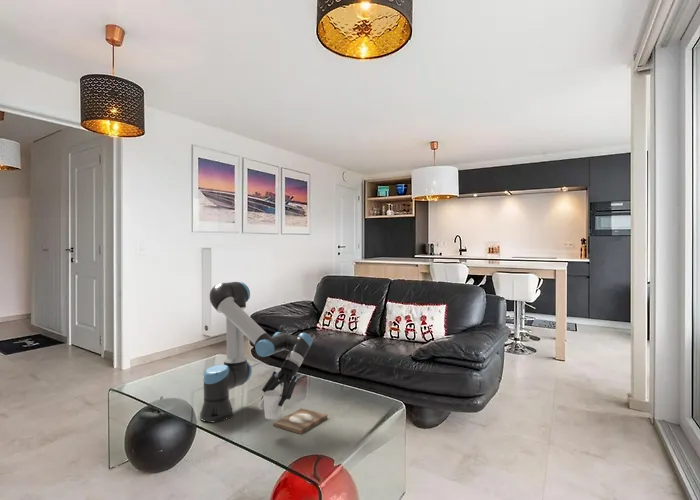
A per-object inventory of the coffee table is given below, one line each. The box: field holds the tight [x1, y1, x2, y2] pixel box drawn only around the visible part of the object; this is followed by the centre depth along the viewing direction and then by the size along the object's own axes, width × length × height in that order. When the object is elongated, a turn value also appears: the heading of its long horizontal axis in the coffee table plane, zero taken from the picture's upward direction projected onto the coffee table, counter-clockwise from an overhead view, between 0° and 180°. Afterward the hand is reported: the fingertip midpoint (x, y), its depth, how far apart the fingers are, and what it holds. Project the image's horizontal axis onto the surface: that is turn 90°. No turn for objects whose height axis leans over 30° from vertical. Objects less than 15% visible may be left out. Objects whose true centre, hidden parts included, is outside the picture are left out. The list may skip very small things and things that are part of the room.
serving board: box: [272, 407, 328, 435], centre depth 178 cm, size 20×16×2 cm
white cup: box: [262, 389, 282, 420], centre depth 165 cm, size 8×8×10 cm
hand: (266, 410), depth 163 cm, fingers closed on white cup, 8 cm apart
